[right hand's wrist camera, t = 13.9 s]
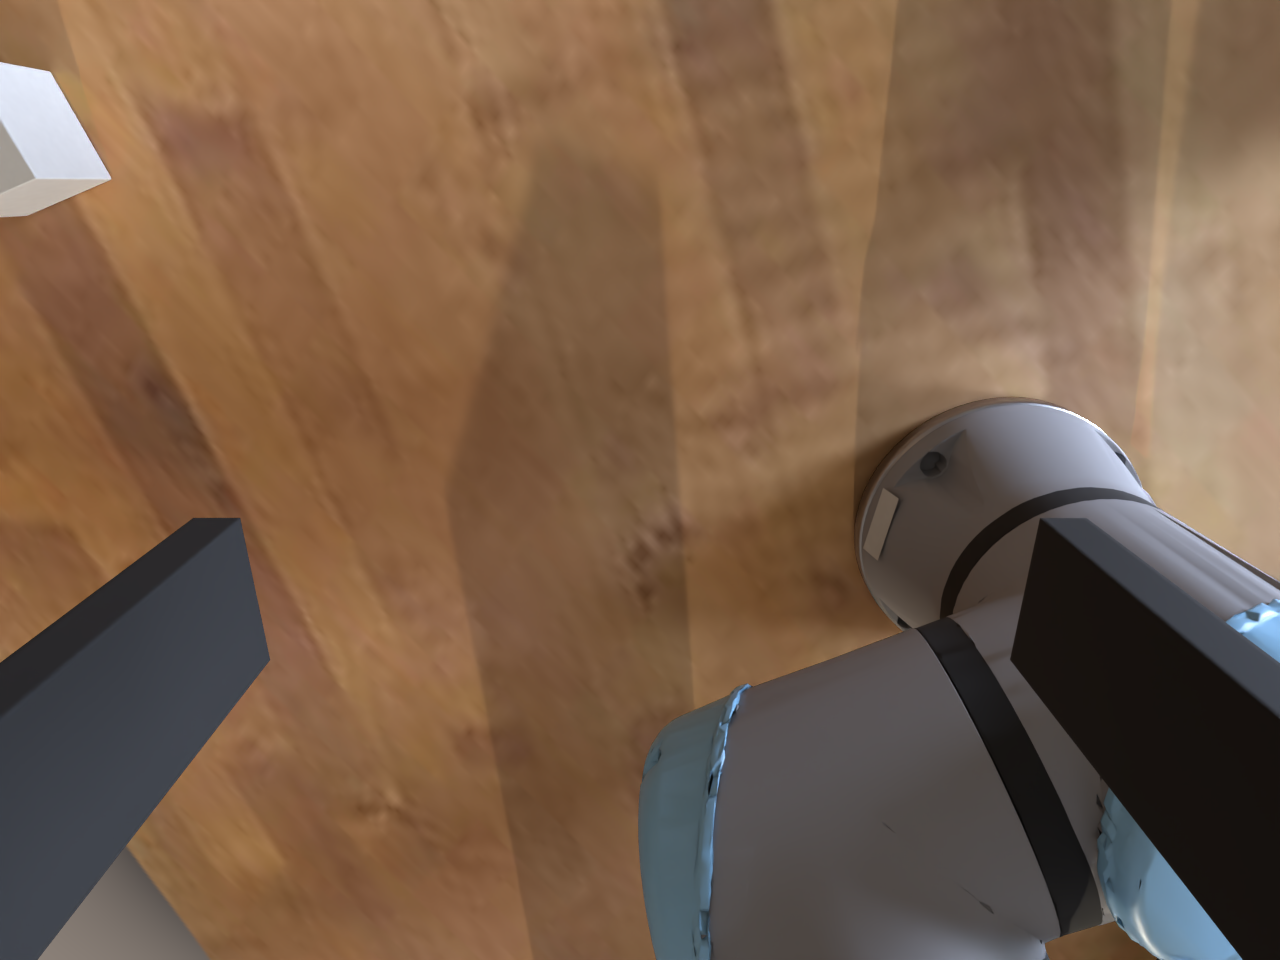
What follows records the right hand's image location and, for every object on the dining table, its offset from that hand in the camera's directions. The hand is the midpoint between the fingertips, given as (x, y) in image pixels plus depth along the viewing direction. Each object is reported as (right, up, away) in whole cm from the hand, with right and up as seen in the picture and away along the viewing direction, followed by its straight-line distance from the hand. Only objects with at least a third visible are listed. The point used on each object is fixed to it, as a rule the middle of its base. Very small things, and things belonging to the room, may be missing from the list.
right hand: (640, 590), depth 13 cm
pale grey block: (-29, +18, +24) cm, 42 cm away
